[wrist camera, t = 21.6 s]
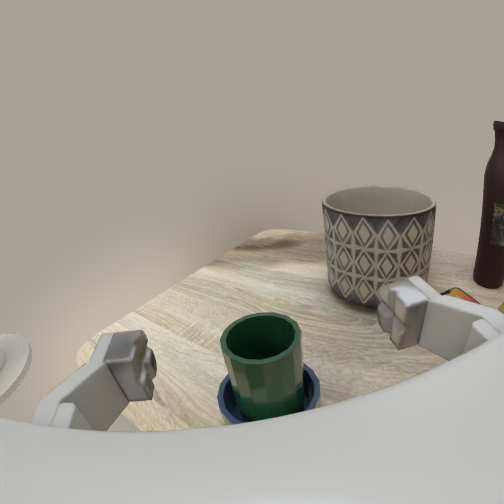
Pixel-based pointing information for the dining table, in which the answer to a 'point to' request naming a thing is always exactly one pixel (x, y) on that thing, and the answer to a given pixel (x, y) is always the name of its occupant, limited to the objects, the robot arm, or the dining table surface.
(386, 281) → the planter
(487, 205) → the wine bottle
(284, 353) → the slim cup
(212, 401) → the dining table surface
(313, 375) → the wide cup
